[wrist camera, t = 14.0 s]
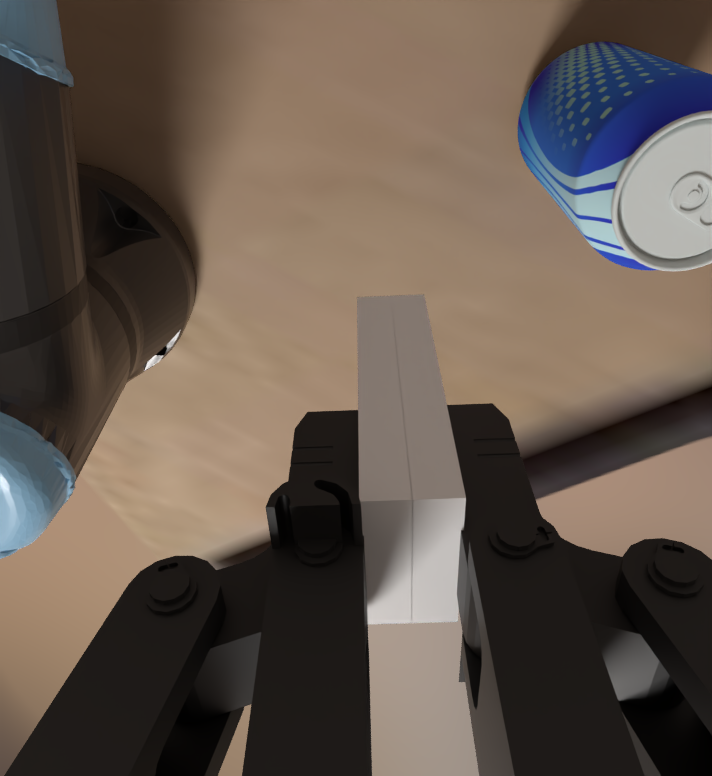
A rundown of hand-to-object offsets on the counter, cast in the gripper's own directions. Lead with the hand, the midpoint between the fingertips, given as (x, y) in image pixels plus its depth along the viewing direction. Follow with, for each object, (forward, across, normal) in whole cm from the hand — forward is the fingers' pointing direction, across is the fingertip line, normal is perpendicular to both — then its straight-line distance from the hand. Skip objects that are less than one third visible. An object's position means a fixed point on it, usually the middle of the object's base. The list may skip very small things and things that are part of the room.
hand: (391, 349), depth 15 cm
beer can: (+30, +13, -1) cm, 32 cm away
